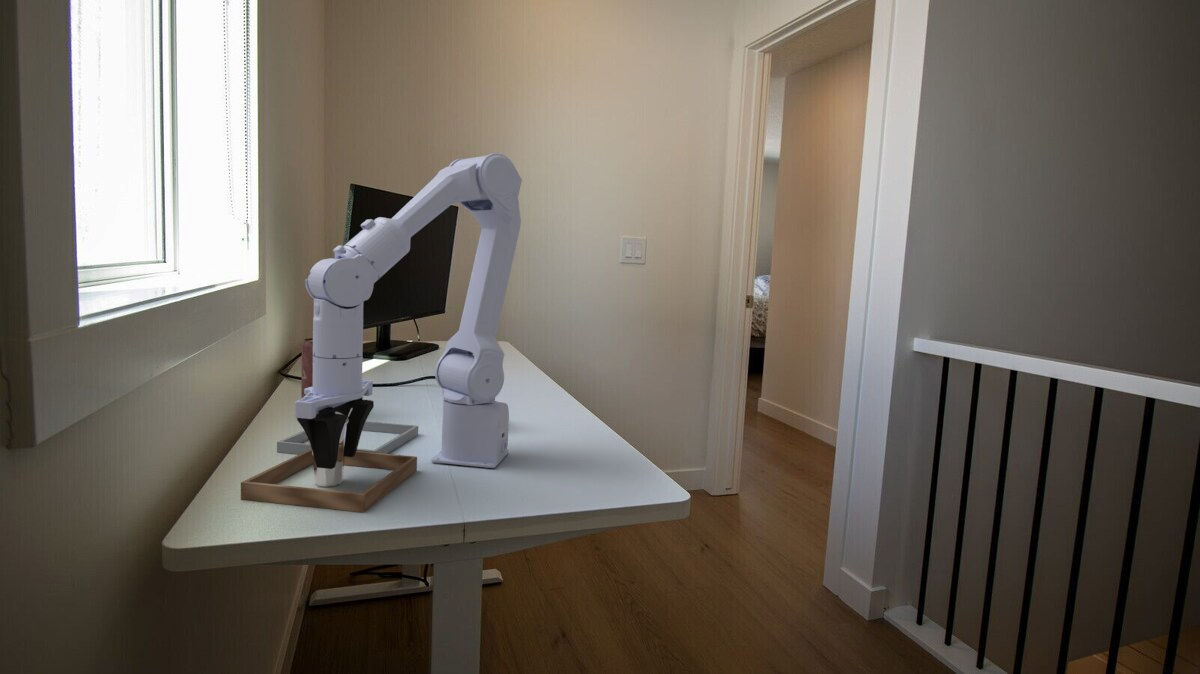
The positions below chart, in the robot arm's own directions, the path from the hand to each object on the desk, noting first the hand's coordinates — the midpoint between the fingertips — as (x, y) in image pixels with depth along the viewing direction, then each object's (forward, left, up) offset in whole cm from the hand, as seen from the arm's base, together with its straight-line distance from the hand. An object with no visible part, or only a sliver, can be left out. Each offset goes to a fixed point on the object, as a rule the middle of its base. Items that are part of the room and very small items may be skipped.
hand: (336, 461), depth 78 cm
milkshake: (+1, 0, -3) cm, 3 cm away
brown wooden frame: (0, 0, -3) cm, 3 cm away
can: (+20, -30, -3) cm, 36 cm away
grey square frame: (+7, -17, -3) cm, 19 cm away
